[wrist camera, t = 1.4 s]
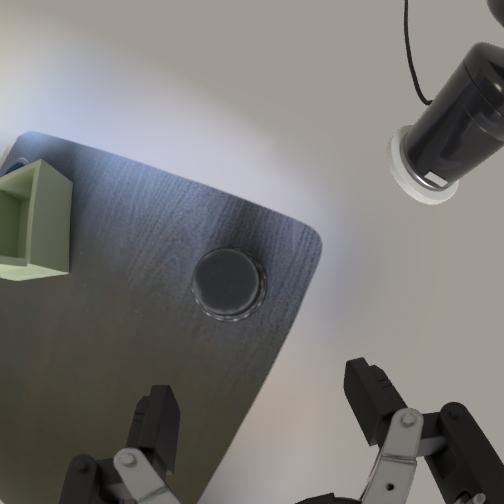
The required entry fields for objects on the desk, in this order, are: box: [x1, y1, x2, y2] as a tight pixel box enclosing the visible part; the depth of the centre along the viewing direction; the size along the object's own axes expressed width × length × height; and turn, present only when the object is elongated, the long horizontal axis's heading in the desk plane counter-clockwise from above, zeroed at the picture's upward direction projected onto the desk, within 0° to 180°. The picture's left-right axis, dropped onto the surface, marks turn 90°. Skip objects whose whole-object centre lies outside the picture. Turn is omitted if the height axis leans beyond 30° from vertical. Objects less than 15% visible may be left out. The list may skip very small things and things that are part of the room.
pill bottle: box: [192, 247, 267, 322], centre depth 25 cm, size 6×6×11 cm
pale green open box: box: [0, 159, 73, 281], centre depth 28 cm, size 13×11×8 cm
